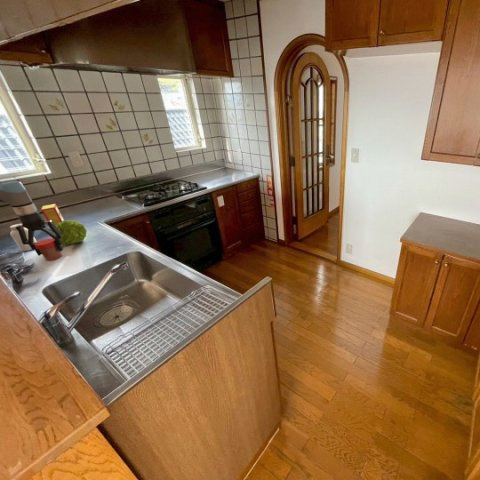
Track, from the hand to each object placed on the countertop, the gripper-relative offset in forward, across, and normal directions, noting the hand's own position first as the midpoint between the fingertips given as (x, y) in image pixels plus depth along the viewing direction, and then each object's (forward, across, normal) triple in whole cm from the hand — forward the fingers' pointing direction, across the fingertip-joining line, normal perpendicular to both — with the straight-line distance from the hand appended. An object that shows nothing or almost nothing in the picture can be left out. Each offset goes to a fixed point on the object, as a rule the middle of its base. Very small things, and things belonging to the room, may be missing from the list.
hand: (51, 252), depth 140 cm
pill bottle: (+5, -20, +26) cm, 33 cm away
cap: (-6, 0, 0) cm, 6 cm away
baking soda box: (+5, -15, +56) cm, 58 cm away
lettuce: (+5, +2, +24) cm, 25 cm away
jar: (+5, 0, 0) cm, 5 cm away
